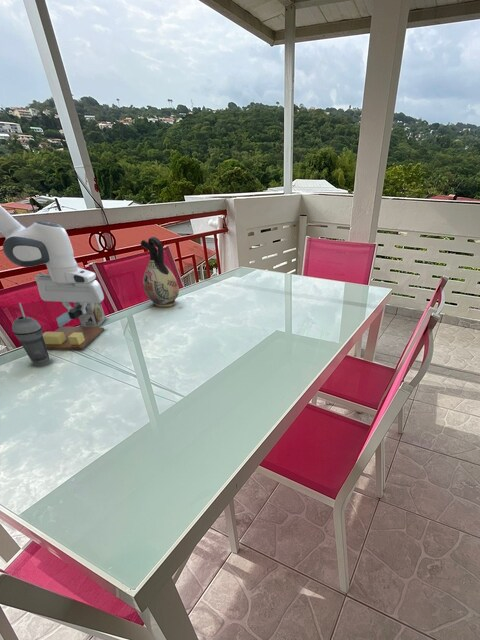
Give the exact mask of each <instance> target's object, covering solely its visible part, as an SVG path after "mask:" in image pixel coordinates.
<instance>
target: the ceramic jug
mask: <svg viewBox="0 0 480 640" xmlns="http://www.w3.org/2000/svg"><path fill="white" fill-rule="evenodd" d="M140 247H142V248H143V249H146V250H147V251H148V253H149V261H148V263H147V265H146V267H145V271H144V274H143V279H142V284H143V285H142V288H143V292H144V294H145V296H146V297H147V298H148V299H149V300H150V301H151V302H152V303H153V304H154V305H155V306H156V307H159V308H168V307H172V306H174V305H175V304H176V299H177V298H178V296H179V293H180V288H179V284H178V283H179V282H178V280H177V278H176V276H175V275H174V273H173V272H172V271H171V269H170V268H169V267H168V266H167V265H166V264H165V256H164V253H165V252H164V246H163V243H162V242H161V240H160V239H159V238H158V237H156V236H151V237H149V238H148V241H147V240H145V239H142V240H141V242H140Z"/></svg>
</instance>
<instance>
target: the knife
mask: <svg viewBox="0 0 480 640" xmlns="http://www.w3.org/2000/svg"><path fill="white" fill-rule="evenodd" d="M72 308H73V309H71V310H68V309H67V311H65V312H63V313H62V314H60V315H59V316H57V317H56V318H55V320H56V323H57V326H58V328H60V327H64V326H65V325H66V324H67V323H69V322H70V321H72V320H76V319H79V316H81V315H82V314H80V312H79V309H80V308H82V305H80V304H79V305H78V306H76V307H75V306H74V307H72ZM85 309H86V312H87V311H88V310H87V307H86V308H85Z"/></svg>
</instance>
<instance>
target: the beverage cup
mask: <svg viewBox="0 0 480 640" xmlns="http://www.w3.org/2000/svg"><path fill="white" fill-rule="evenodd" d="M18 305H19V309H20V313H21V315H22V316H18V317H17V318H15V319H14V321H13V322H12V324H11V330H12V333H13V334H14V336H15V338H16V339H17V340H18V341H19V342H20V345H21V347H22V348H23V349H24V351H25V352H26V354H27V356H28V358H29V359H30V361H31V363H32V364H33V366H34V367H37V368H39V367H45V366H48V365H49V364H50V363H51V358H50V354H49V350H47V347H46V344H45V341H44V338H43V333H44V332H43V328H42V326H41V324H40V323H39V322H38V320H36V319H35V318H33V317H30V316H26V315H25V311H24V309H23V306H22V303H21V302H18Z"/></svg>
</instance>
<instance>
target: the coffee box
mask: <svg viewBox="0 0 480 640" xmlns="http://www.w3.org/2000/svg"><path fill="white" fill-rule="evenodd" d="M72 303H73V305H74V307H76V306H78V305H79V304H80V303H79V302H72ZM86 307H87V310H88V311H87V312H86V314H82V315H81V316H79V317H78V320H79V323H80V327H100V326H101V325H102V324H103V323H104V321H105V320H106V315H105V311H104V309H103V305H102V302H100V303H87V305H86ZM103 317H105V318H103Z"/></svg>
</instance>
